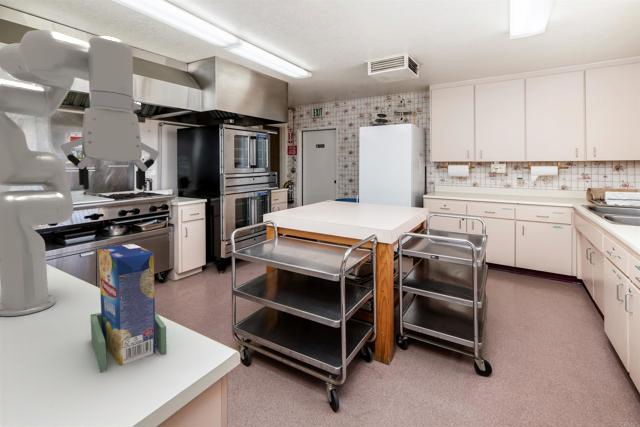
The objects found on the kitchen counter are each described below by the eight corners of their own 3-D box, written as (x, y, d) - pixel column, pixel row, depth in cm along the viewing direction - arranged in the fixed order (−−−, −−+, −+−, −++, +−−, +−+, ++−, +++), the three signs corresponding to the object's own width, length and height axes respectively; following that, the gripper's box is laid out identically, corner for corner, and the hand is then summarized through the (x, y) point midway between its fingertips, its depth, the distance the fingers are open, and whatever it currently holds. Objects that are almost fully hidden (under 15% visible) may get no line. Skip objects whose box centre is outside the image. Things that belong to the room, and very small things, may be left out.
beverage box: (135, 334, 80) (133, 243, 77) (155, 352, 72) (153, 252, 70) (102, 345, 75) (98, 247, 72) (120, 365, 67) (117, 258, 65)
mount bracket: (91, 339, 77) (90, 314, 76) (149, 326, 84) (149, 303, 83) (100, 372, 65) (99, 342, 64) (166, 352, 73) (166, 326, 72)
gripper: (153, 112, 77) (154, 188, 79) (57, 99, 66) (61, 187, 68) (162, 109, 71) (162, 191, 73) (58, 94, 60) (62, 190, 62)
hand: (113, 189), depth 71 cm, fingers open, 9 cm apart
